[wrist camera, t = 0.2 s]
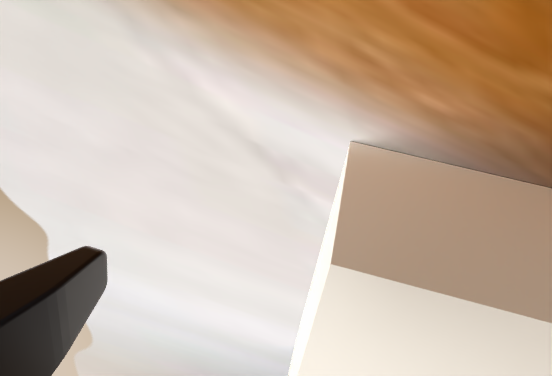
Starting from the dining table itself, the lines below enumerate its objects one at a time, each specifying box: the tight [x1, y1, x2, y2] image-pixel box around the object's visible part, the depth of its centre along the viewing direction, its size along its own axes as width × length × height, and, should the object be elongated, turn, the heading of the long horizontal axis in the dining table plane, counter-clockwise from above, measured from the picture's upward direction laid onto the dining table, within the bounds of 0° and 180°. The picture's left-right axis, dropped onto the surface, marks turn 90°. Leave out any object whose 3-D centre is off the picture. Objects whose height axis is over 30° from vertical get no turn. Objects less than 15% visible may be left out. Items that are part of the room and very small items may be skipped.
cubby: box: [288, 141, 552, 376], centre depth 21 cm, size 16×12×10 cm
